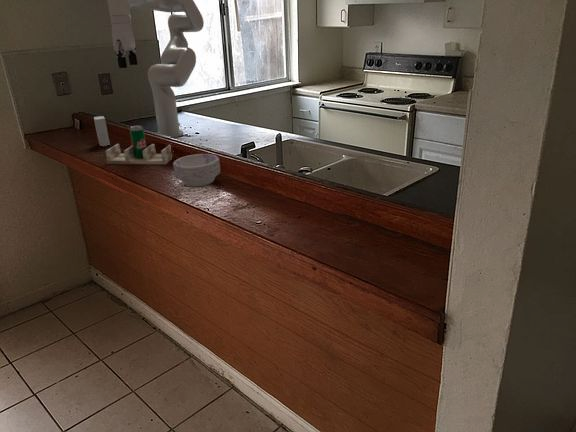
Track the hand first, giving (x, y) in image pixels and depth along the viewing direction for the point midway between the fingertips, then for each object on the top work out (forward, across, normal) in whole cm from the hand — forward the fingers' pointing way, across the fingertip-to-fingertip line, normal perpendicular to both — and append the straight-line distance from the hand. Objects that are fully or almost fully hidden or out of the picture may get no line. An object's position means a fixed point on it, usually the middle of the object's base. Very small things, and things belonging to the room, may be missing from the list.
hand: (128, 66), depth 199 cm
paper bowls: (+34, +43, +39) cm, 67 cm away
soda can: (+32, +18, +8) cm, 38 cm away
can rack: (+33, +18, +8) cm, 39 cm away
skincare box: (+34, -4, -19) cm, 39 cm away
